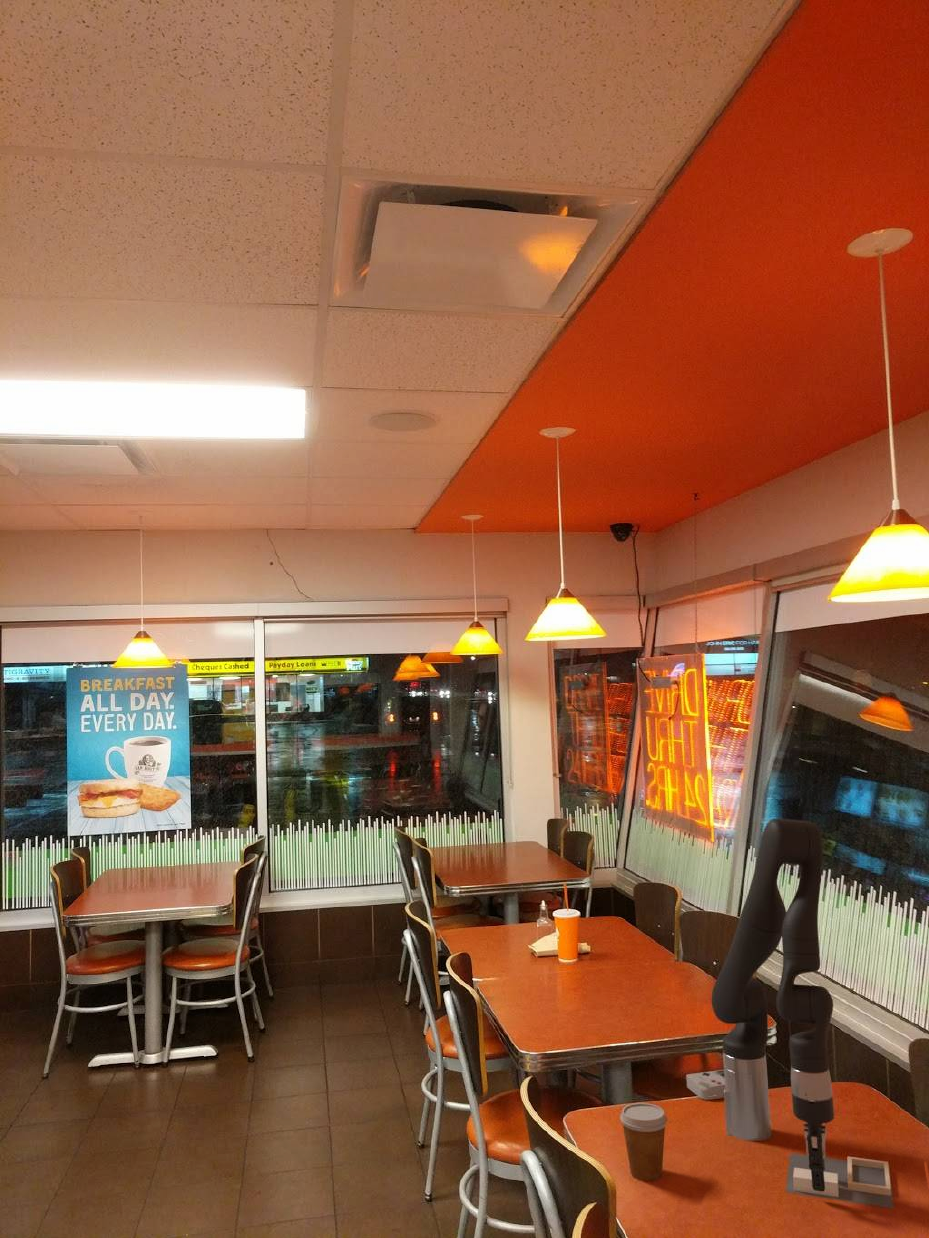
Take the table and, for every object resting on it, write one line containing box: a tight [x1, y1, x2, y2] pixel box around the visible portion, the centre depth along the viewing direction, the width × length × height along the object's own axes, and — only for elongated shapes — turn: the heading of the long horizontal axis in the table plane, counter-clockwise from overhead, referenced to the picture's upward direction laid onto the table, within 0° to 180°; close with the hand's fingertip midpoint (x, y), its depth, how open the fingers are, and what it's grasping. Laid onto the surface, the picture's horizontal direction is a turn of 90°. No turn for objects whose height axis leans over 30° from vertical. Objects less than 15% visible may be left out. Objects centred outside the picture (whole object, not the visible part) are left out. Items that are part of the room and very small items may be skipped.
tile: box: [793, 1168, 839, 1197], centre depth 176 cm, size 8×4×2 cm, turn 68°
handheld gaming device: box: [685, 1069, 725, 1101], centre depth 226 cm, size 9×15×4 cm, turn 103°
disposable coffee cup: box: [619, 1102, 668, 1182], centre depth 186 cm, size 10×10×12 cm
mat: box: [785, 1152, 895, 1210], centre depth 180 cm, size 19×17×2 cm
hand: (819, 1179), depth 176 cm, fingers open, 8 cm apart
